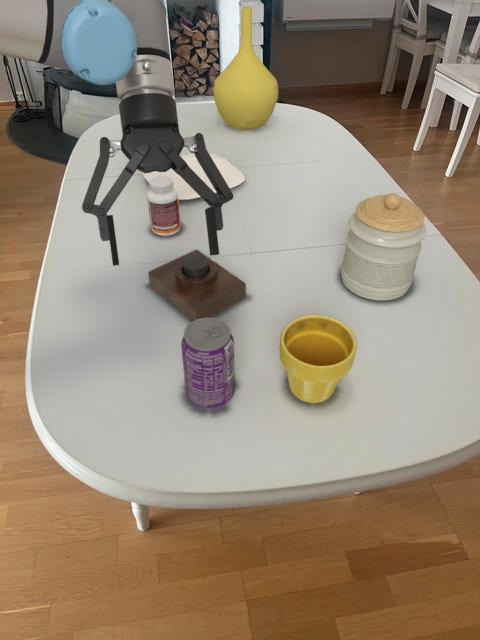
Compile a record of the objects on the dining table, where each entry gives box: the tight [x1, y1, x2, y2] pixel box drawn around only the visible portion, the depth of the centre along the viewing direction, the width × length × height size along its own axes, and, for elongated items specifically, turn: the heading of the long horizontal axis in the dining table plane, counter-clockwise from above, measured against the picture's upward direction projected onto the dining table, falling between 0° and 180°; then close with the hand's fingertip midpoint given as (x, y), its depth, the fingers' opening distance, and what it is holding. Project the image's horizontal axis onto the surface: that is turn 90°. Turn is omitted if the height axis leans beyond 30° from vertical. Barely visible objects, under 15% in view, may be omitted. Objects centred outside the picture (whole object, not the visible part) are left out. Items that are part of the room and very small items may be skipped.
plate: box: [141, 152, 246, 201], centre depth 126 cm, size 22×22×2 cm
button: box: [182, 255, 208, 278], centre depth 90 cm, size 4×4×2 cm
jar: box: [340, 192, 427, 301], centre depth 91 cm, size 13×13×18 cm
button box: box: [147, 249, 247, 322], centre depth 92 cm, size 14×11×5 cm
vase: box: [213, 6, 279, 131], centre depth 143 cm, size 18×18×30 cm
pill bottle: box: [146, 176, 182, 237], centre depth 106 cm, size 6×6×11 cm
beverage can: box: [180, 317, 235, 409], centre depth 72 cm, size 7×7×12 cm
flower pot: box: [279, 314, 358, 404], centre depth 74 cm, size 10×10×10 cm
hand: (166, 260), depth 71 cm, fingers open, 13 cm apart
